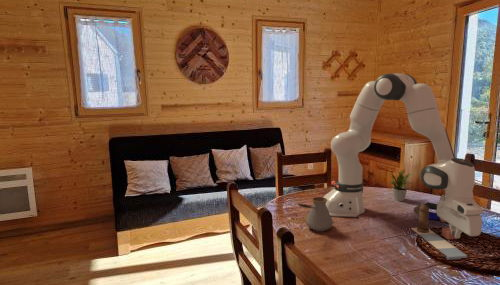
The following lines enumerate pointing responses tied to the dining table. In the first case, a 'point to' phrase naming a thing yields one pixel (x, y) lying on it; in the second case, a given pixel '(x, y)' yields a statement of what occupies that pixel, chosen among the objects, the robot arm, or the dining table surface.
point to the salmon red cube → (447, 233)
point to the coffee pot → (318, 215)
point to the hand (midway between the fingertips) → (455, 236)
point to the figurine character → (431, 214)
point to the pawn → (423, 219)
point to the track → (442, 245)
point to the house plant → (399, 186)
